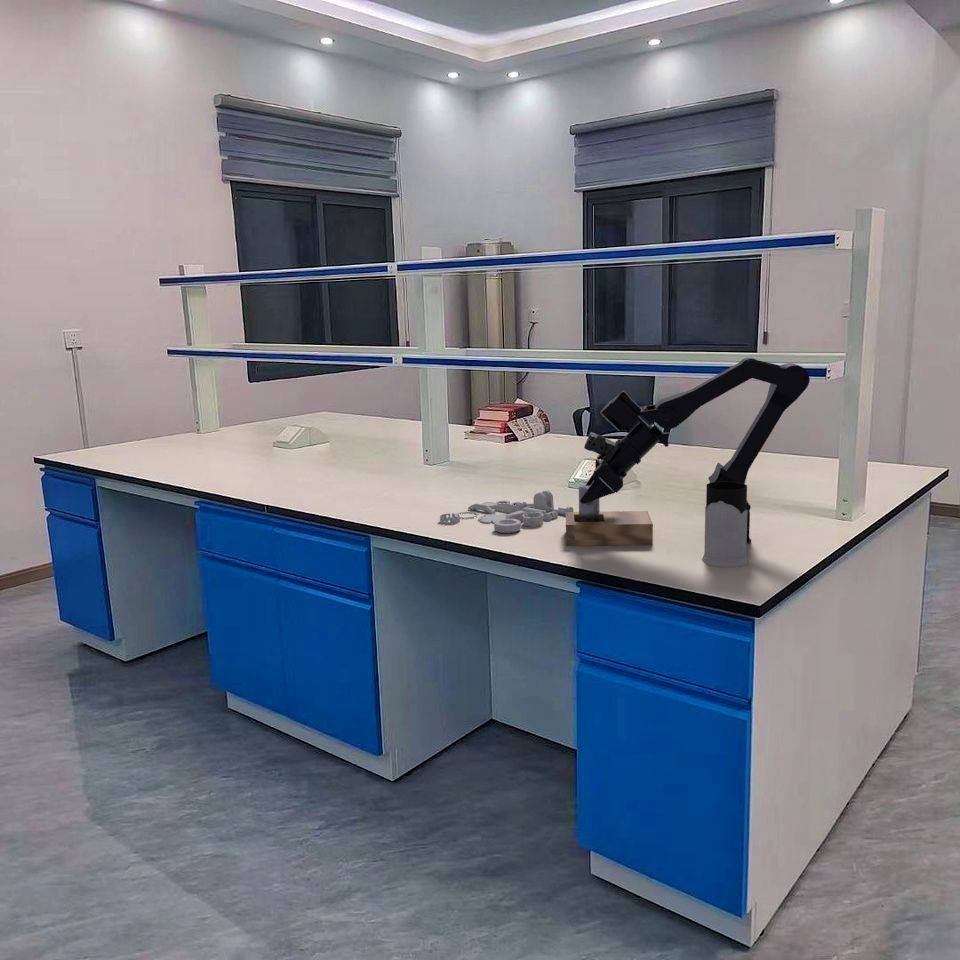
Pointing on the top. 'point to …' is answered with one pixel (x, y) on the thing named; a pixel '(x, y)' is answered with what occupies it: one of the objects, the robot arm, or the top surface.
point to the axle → (588, 508)
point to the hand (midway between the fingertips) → (582, 497)
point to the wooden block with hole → (610, 529)
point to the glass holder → (726, 524)
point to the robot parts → (513, 513)
